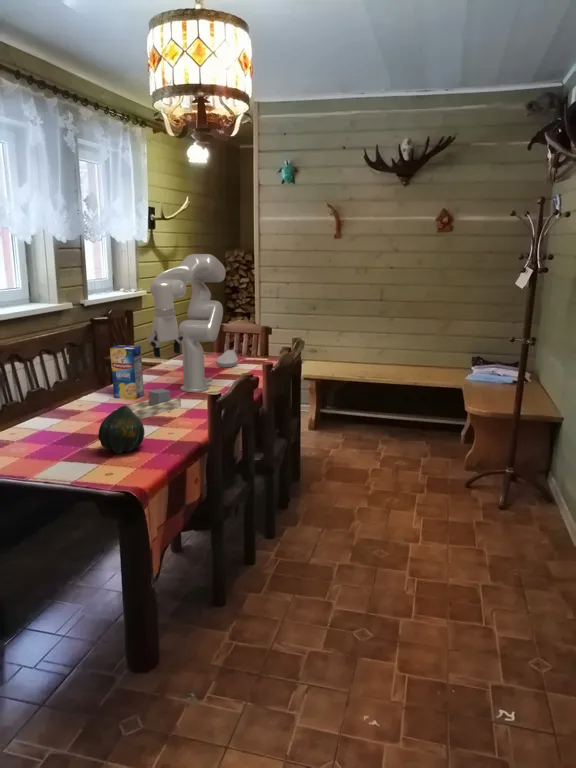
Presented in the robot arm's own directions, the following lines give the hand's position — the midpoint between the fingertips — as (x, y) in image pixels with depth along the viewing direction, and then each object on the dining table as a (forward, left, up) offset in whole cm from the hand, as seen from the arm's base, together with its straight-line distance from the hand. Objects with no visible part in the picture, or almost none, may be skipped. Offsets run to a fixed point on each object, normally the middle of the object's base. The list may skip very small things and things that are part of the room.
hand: (167, 354), depth 246 cm
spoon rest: (-74, -35, -22) cm, 84 cm away
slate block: (+7, +1, -20) cm, 21 cm away
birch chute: (+13, +1, -21) cm, 25 cm away
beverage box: (+2, -25, -21) cm, 33 cm away
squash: (+46, +27, -21) cm, 57 cm away
